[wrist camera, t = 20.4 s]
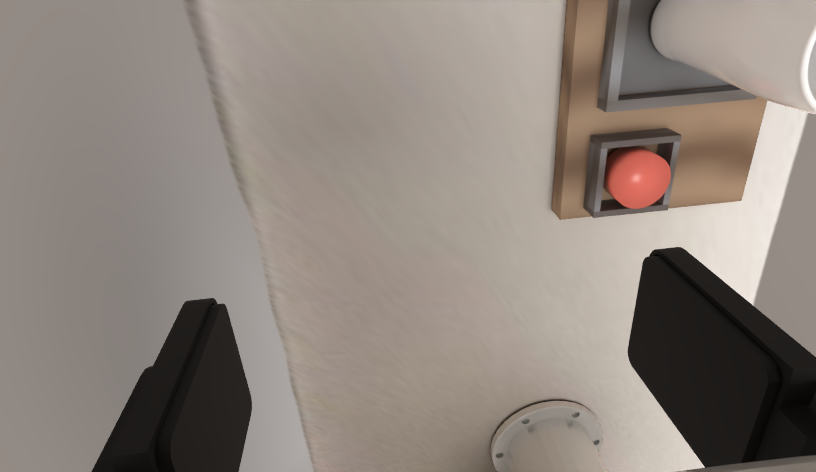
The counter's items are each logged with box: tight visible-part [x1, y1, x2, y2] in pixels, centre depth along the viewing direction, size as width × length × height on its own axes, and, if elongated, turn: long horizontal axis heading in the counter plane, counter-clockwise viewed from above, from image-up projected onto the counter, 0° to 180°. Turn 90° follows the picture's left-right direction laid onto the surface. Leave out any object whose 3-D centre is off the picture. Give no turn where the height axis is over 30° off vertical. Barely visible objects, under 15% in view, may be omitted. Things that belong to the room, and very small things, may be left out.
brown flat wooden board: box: [552, 0, 767, 220], centre depth 39 cm, size 22×16×4 cm
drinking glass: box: [650, 0, 816, 114], centre depth 30 cm, size 7×7×15 cm
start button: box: [603, 145, 671, 209], centre depth 40 cm, size 4×4×2 cm
